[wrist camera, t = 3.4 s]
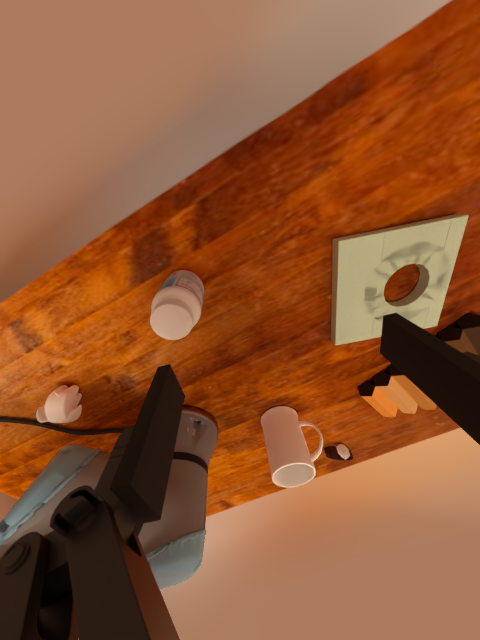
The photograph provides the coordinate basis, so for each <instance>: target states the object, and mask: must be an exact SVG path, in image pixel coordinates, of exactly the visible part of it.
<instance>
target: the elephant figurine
mask: <svg viewBox="0 0 480 640" xmlns="http://www.w3.org/2000/svg"><path fill="white" fill-rule="evenodd" d="M78 391H79V387H78V386H77V385H73V386H71V387H69V388H68V386H67V385H63V386H60V387H58V388H57V389H56V390H54V391H53V392H52V393H50V395H49V396H48V398H47V399H46V402H45V405H43V406H41V407H39V408H38V409H37V412H36V417H37V420H38V421H39V422H40V423H44V422H48V421H49V422H51V423H69V422H72V421H75V420H76V419H78V418H79V416H80V415H81V412H82V405H81V404H80V405H79V406H78V403H79V401H80V399H81V397H82V394H80V393H78ZM77 406H78V407H77Z"/></svg>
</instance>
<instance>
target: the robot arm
mask: <svg viewBox="0 0 480 640" xmlns="http://www.w3.org/2000/svg"><path fill="white" fill-rule="evenodd" d="M380 353H381V354H382V355H383V356H384V357H385V358H386V359H387V360H388V361H390V362H391V363H392V364H393V365H394V366H395V367H396V368H397V369H398V370H399V371H400V372H401V373H403V374H404V375H405V376H406V377H407V378H408V379H409V380H410V381H411V382H412V383H413V384H414V385H416V386H417V387H418V388H419V389H420V390H421V391H422V392H423V393H424V394H425V395H426V396H427V397H429V398H430V399H431V400H432V401H433V402H434V403H435V404H436V405H437V406H438V407H439V408H440V409H442V410H443V411H444V412H445V413H446V414H447V415H448V416H449V417H450V418H451V419H452V420H453V421H454V422H456V423H457V424H458V425H459V426H460V427H461V428H462V429H463V430H464V431H465V432H466V433H467V434H469V435H470V436H471V437H472V438H473V439H474V440H475V441H476V442H477V443H478V444H479V445H480V356H479V355H476V354H473V353H471V352H468V351H467V352H460V351H458V350H457V349H455V348H453V347H452V346H450V345H448V344H447V343H445V342H444V341H442V340H440V339H439V338H437V337H435V336H434V335H432V334H430V333H429V332H427V331H425V330H424V329H422V328H421V327H419V326H417V325H416V324H414V323H412V322H411V321H409V320H407V319H406V318H404V317H402V316H401V315H399V314H398V313H392V314H388V315H384V316H383V323H382V335H381V346H380ZM184 398H185V395H184V393H183V391H182V389H181V387H180V385H179V382H178V380H177V378H176V376H175V374H174V372H173V370H172V368H171V365H165V366H161V367H158V369H157V371H156V374H155V376H154V379H153V381H152V384H151V386H150V388H149V391H148V393H147V396H146V398H145V401H144V403H143V406H142V408H141V411H140V413H139V416H138V418H137V421H136V423H135V425H133V426H128V427H126V428H125V429H124V430H123V429H105V430H96V431H78V430H71V429H67V428H63V427H59V426H55V425H52V424H48V423H40V422H39V421H32V420H25V419H16V418H0V422H11V423H21V424H29V425H36V426H41V427H45V428H49V429H53V430H57V431H60V432H65V433H69V434H76V435H96V434H105V433H121V434H120V436H119V437H118V439H117V441H116V443H115V446H114V448H113V451H112V452H111V454H109V453H106V452H103V451H100V450H101V449H99V448H98V449H93V448H89V447H86V446H82V445H78V444H71V445H68V446H66V447H64V448H62V449H61V450H60V451H59V452H58V453H57V454H56V455H55V456H54V457H53V459H52V460H51V461H50V462H49V463H48V465H47V466H46V467H45V468H44V469H43V471H42V472H41V473H40V474H39V476H38V477H37V478H36V479H35V480H34V482H33V483H32V484H31V485H30V487H29V488H28V489H27V490H26V491H25V493H24V494H23V495H22V496H21V498H20V499H19V500H18V501H17V502H16V504H15V505H14V506H13V507H12V509H11V510H10V511H9V512H8V514H7V515H6V516H5V517H4V518H3V520H2V521H1V522H0V640H78V638H79V640H180V639H179V637H178V634H177V632H176V629H175V627H174V624H173V622H172V619H171V617H170V614H169V612H168V609H167V607H166V605H165V602H164V600H163V597H162V595H161V592H160V590H159V589H163V588H166V587H170V586H173V585H176V584H179V583H181V582H183V581H185V580H187V579H189V578H190V577H192V576H193V575H194V574H195V573H196V572H197V571H198V569H199V567H200V565H201V562H202V557H203V548H204V539H205V534H206V530H205V520H206V499H207V478H208V465H209V462H210V459H211V456H212V453H213V451H214V448H215V445H216V442H217V440H218V425H217V422H216V420H215V419H214V418H213V417H212V416H211V415H210V414H209V413H207V412H206V411H204V410H201V409H199V408H195V407H189V406H183V403H184Z"/></svg>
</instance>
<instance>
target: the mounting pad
mask: <svg viewBox="0 0 480 640" xmlns="http://www.w3.org/2000/svg"><path fill="white" fill-rule="evenodd" d="M468 216H469V215H461V214H454V215H449V216H444V217H440V218H434V219H429V220H425V221H420V222H415V223H410V224H405V225H400V226H395V227H390V228H385V229H380V230H375V231H370V232H365V233H360V234H355V235H350V236H345V237H340V238H335V239H333V244H332V295H331V340H332V342H333V343H334V344H335V345H340V344H346V343H351V342H356V341H362V340H367V339H372V338H377V337H381V335H382V323H383V316H384V315H388V314H392V313H398V314H399V315H401V316H402V317H404V318H406V319H407V320H409V321H411V322H412V323H414V324H416V325H417V326H419V327H421V328H422V329H425V328H430V327H435V326H437V324H438V321H439V317H440V314H441V310H442V307H443V303H444V300H445V296H446V293H447V289H448V286H449V282H450V279H451V275H452V272H453V268H454V265H455V261H456V258H457V255H458V251H459V248H460V244H461V241H462V237H463V234H464V230H465V227H466V223H467V220H468ZM414 263H415V264H416V265H417V266H418V268H419V272H420V276H419V280H418V283H417V285H416V286H415V288H414V290H413V291H412V292H411V293H410V294H409V295H407V296H406V297H404V298H402V299H401V300H399V301H394V302H387V301H385V298H384V295H383V293H384V286H385V284H386V282H387V281H388V279H389V277H390V276H391V275H392V274H393V273H394V272H395V271H396V270H398V269H400V268H401V267H403V266H405V265H409V264H414Z"/></svg>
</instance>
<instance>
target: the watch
mask: <svg viewBox="0 0 480 640" xmlns="http://www.w3.org/2000/svg"><path fill="white" fill-rule="evenodd" d="M325 453H326V456H327V457H328V458H331V459H336V460H351V459H353V456H352V453H351V451H350V450H348V449H347V447H346V446H345V445H343V444H339V445H338V446H336V447H335V446H328V447H325Z"/></svg>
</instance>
